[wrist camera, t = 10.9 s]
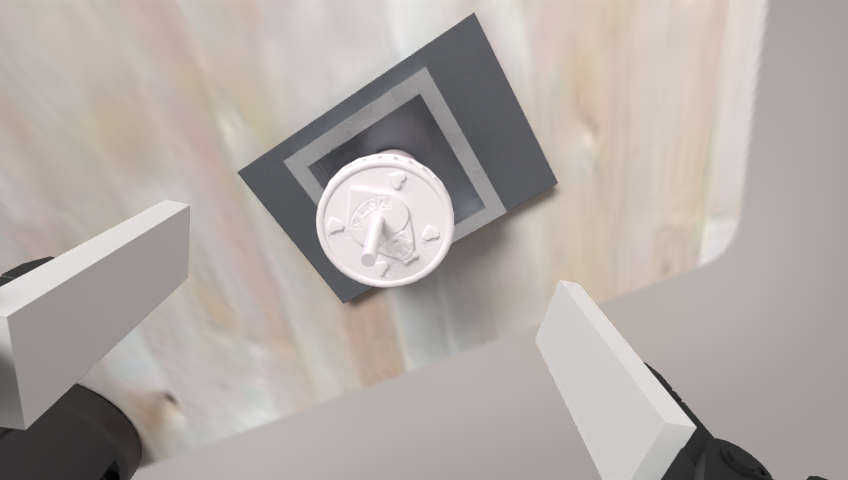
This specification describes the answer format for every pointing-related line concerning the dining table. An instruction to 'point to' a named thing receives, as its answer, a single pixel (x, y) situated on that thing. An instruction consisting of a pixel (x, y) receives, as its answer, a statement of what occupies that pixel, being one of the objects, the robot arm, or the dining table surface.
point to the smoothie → (385, 220)
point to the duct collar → (412, 143)
